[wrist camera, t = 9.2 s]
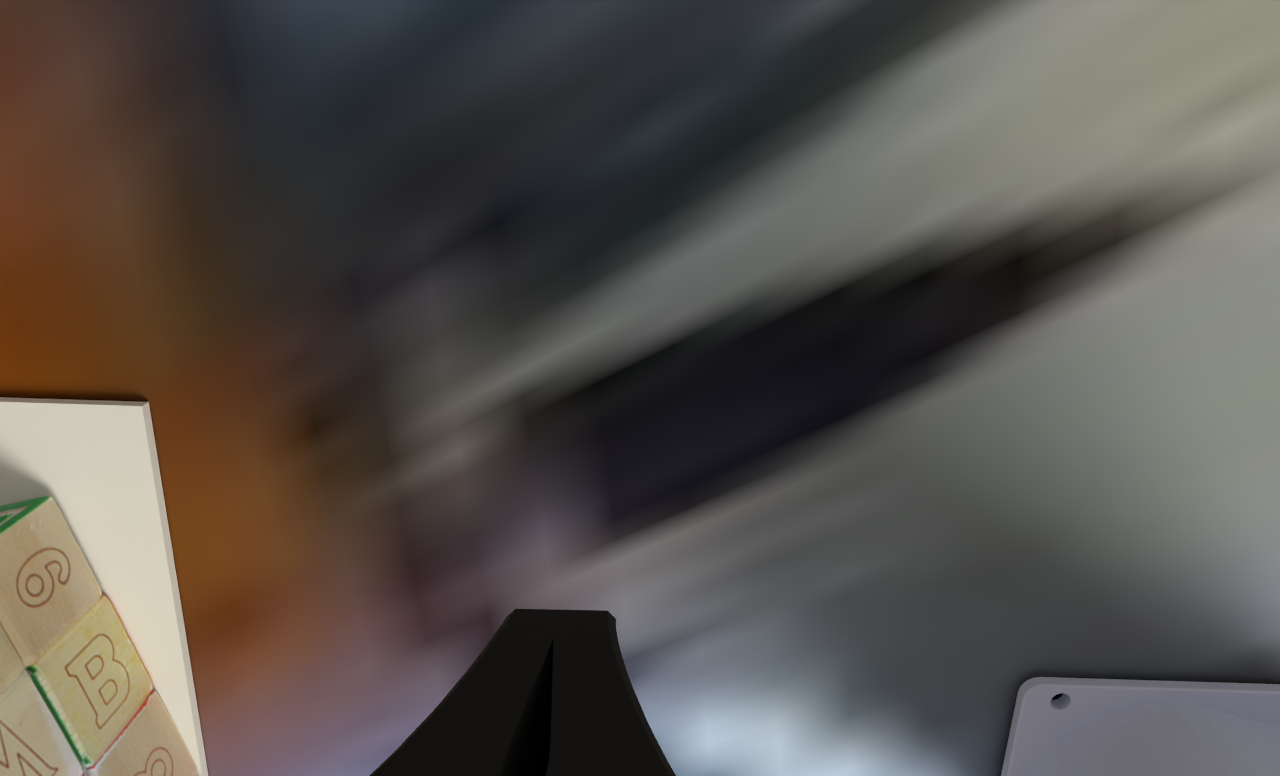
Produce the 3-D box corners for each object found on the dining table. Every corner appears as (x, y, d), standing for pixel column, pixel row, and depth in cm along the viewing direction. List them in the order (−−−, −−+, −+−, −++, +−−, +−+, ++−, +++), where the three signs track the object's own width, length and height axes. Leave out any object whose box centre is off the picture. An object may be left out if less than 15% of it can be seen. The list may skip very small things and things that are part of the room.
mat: (148, 401, 22) (141, 406, 21) (249, 1036, 29) (246, 1046, 28) (-179, 391, 22) (-190, 395, 21) (4, 1029, 29) (-3, 1038, 28)
